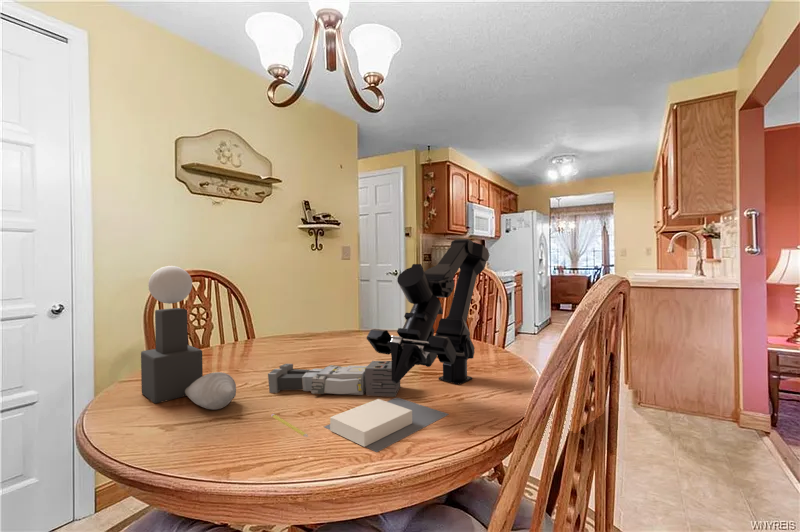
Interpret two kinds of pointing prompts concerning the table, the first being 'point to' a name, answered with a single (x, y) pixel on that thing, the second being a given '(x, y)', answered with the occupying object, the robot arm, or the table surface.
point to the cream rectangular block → (370, 421)
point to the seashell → (212, 390)
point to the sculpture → (170, 340)
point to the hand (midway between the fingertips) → (394, 382)
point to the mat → (420, 419)
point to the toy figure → (337, 379)
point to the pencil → (289, 425)
